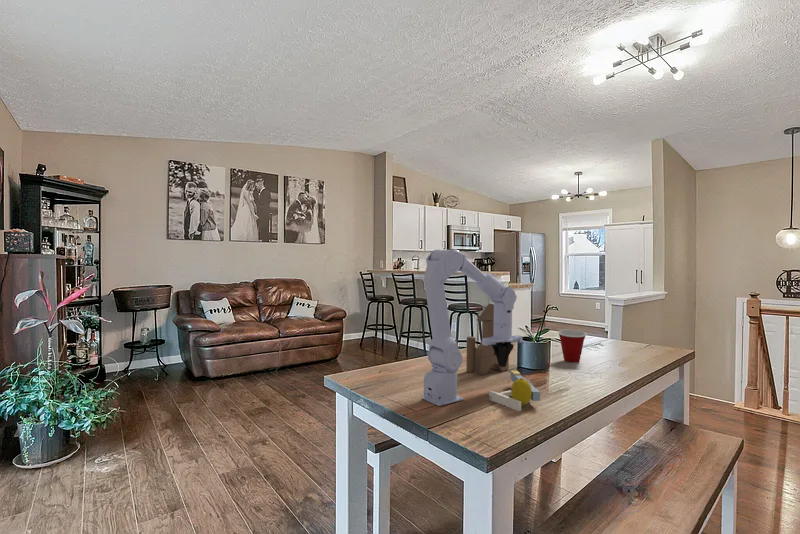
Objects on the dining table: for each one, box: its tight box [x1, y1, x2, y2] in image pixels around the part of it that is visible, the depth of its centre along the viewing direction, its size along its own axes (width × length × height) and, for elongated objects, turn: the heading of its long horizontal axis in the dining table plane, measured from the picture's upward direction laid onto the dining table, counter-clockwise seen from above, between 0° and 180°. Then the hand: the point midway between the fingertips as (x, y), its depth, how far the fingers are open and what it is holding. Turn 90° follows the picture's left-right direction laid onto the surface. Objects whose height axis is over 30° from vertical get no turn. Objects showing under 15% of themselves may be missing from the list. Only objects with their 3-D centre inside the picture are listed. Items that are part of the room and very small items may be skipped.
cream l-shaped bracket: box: [488, 389, 522, 412], centre depth 118 cm, size 9×11×2 cm
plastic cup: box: [557, 329, 588, 363], centre depth 166 cm, size 11×11×12 cm
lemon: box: [510, 377, 532, 407], centre depth 115 cm, size 6×6×8 cm
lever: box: [510, 370, 541, 402], centre depth 124 cm, size 4×20×3 cm, turn 2°
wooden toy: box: [465, 303, 510, 376], centre depth 151 cm, size 16×7×25 cm, turn 119°
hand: (502, 366), depth 131 cm, fingers closed
